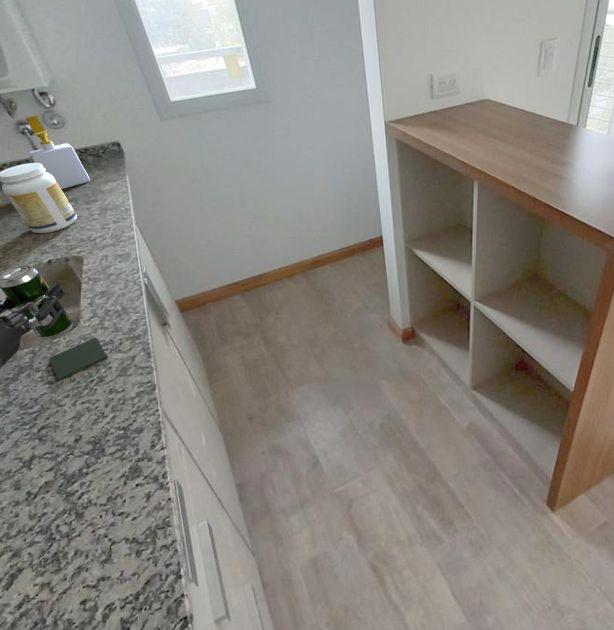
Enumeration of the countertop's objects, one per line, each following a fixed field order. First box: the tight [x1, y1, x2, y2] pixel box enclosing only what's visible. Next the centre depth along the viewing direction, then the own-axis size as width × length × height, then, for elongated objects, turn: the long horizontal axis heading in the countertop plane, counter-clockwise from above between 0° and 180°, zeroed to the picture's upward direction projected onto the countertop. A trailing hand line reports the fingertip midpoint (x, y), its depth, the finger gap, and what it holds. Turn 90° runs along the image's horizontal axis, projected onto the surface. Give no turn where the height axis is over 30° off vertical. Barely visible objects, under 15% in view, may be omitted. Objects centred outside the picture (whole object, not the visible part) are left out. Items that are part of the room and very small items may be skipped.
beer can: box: [0, 264, 74, 340], centre depth 74 cm, size 5×5×12 cm
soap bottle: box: [25, 114, 91, 190], centre depth 152 cm, size 12×7×23 cm, turn 134°
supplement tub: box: [0, 162, 78, 234], centre depth 126 cm, size 12×12×17 cm
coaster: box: [48, 336, 109, 382], centre depth 82 cm, size 8×8×1 cm
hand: (42, 289), depth 75 cm, fingers closed on beer can, 5 cm apart
